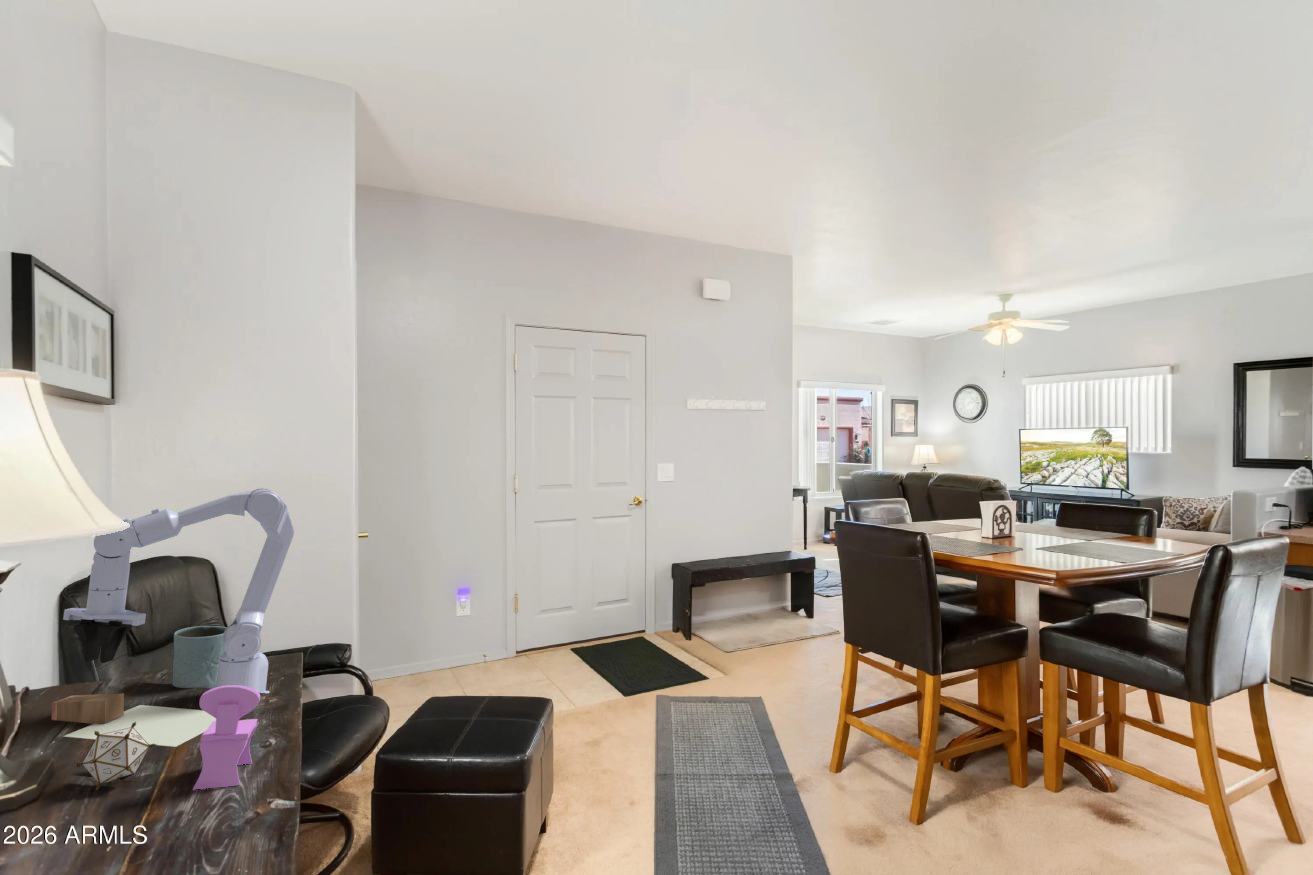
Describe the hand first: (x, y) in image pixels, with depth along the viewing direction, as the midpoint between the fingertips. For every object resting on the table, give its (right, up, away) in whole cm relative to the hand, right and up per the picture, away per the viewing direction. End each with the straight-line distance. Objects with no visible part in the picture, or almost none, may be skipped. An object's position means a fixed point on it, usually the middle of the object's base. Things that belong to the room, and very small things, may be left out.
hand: (99, 660), depth 124 cm
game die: (+22, -11, -24) cm, 34 cm away
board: (+14, -11, -4) cm, 18 cm away
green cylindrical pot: (+5, -12, +19) cm, 23 cm away
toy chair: (+37, -12, -19) cm, 43 cm away
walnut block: (+6, -7, -4) cm, 10 cm away
